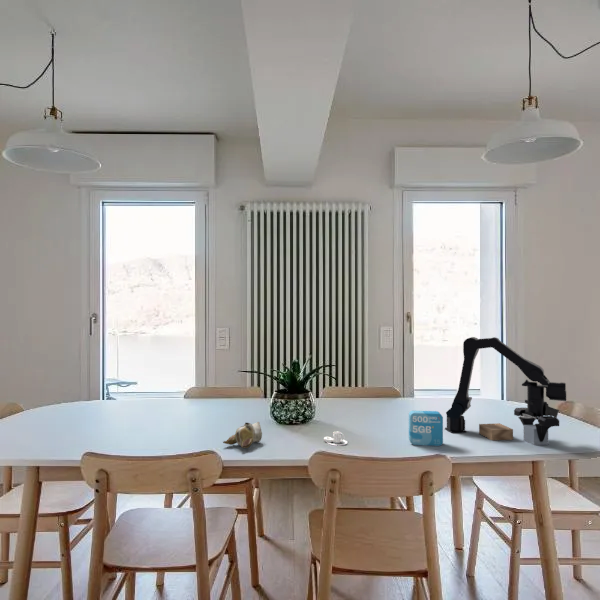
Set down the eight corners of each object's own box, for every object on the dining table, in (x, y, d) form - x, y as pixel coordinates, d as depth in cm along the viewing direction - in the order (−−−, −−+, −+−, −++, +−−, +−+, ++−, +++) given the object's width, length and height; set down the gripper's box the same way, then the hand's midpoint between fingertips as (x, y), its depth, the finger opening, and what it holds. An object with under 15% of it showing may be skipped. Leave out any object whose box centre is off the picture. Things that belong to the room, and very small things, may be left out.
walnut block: (491, 440, 174) (491, 430, 174) (479, 433, 183) (479, 424, 183) (513, 439, 175) (512, 429, 175) (499, 433, 184) (499, 423, 184)
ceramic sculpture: (269, 419, 169) (242, 430, 157) (270, 442, 170) (243, 455, 157) (248, 415, 176) (220, 426, 163) (249, 437, 176) (222, 449, 164)
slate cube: (533, 445, 168) (533, 429, 168) (523, 440, 174) (523, 424, 174) (548, 444, 169) (548, 428, 169) (537, 439, 175) (537, 424, 175)
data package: (410, 445, 168) (410, 412, 168) (408, 441, 172) (408, 410, 172) (443, 446, 166) (443, 413, 166) (440, 442, 171) (440, 411, 171)
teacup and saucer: (320, 442, 171) (320, 432, 171) (334, 438, 177) (334, 428, 177) (338, 448, 165) (338, 436, 165) (351, 443, 170) (351, 432, 170)
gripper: (572, 402, 164) (572, 445, 164) (538, 393, 182) (538, 431, 182) (545, 403, 162) (545, 446, 162) (513, 393, 181) (513, 432, 180)
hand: (535, 439), depth 172 cm, fingers closed on slate cube, 6 cm apart
